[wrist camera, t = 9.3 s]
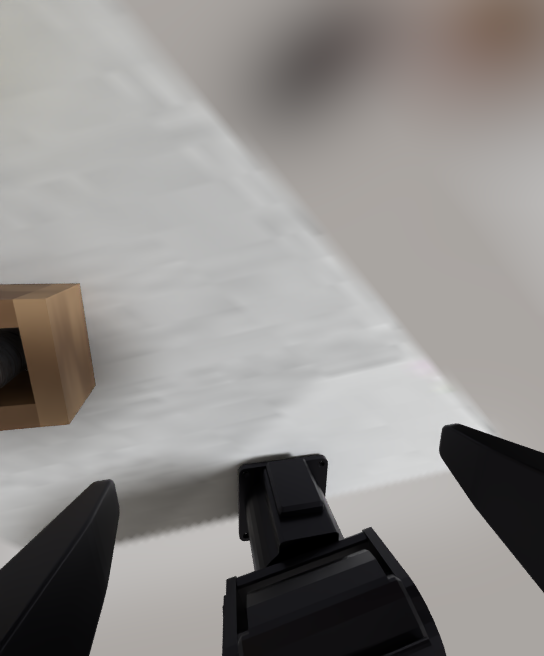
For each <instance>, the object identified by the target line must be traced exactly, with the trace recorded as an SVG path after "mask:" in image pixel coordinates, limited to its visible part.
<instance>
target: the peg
mask: <svg viewBox="0 0 544 656" xmlns="http://www.w3.org/2000/svg"><path fill="white" fill-rule="evenodd" d="M26 368H27V363H26V358H25V354H24V349H23V345H22V340H21V336H20V331H19V328H1V329H0V389H1V388H2V387H3V386H4V385H6V384H7V383H8V382H9V381H11V380H12V379H13V378H15V377H16V376H17V375H18V374H20V373H21V372H22V371H23V370H25V369H26Z"/></svg>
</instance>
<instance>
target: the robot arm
mask: <svg viewBox="0 0 544 656" xmlns="http://www.w3.org/2000/svg"><path fill="white" fill-rule="evenodd" d="M439 452H440V456H441V458H442V459H443V461H444V462H445V464H446V465H447V467H448V468H449V470H450V471H451V473H452V474H453V476H454V477H455V479H456V480H457V481H458V483H459V484H460V486H461V487H462V489H463V490H464V492H465V493H466V495H467V496H468V498H469V499H470V501H471V502H472V503H473V505H474V506H475V508H476V509H477V510H478V511H479V513H480V514H481V515H482V517H483V518H484V519H485V520H486V522H487V523H488V524H489V525H490V527H491V528H492V529H493V530H494V531H495V533H496V534H497V535H498V536H499V538H500V539H501V540H502V541H503V543H504V544H505V545H506V546H507V548H508V549H509V550H510V551H511V552H512V554H513V555H514V556H515V558H516V559H517V560H518V561H519V562H520V564H521V565H522V566H523V568H524V569H525V570H526V571H527V573H528V574H529V575H530V576H531V577H532V579H533V580H534V581H535V582H536V583H537V585H538V586H539V587H540V589H541V590H542V591H543V592H544V453H542V452H539V451H536V450H533V449H530V448H528V447H525V446H522V445H519V444H516V443H513V442H510V441H507V440H504V439H502V438H499V437H496V436H493V435H490V434H487V433H484V432H481V431H478V430H476V429H473V428H470V427H467V426H464V425H461V424H450V425H445V426H444V427H443V428H442V433H441V439H440V446H439ZM321 461H322V462H321ZM319 462H321V463H319ZM327 468H328V461H327V459H326V458H325V456H323V455H315V456H307V457H299V458H292V459H284V460H276V461H269V462H261V463H253V464H246V465H242V466H241V467H240V468H239V469H238V504H239V537H240V539H241V540H242V541H249V540H250V545H251V551H252V558H253V564H254V570H255V571H254V572H251V573H249V574H246V575H243V576H240V577H238V578H237V577H236V576H235V577H232V578H229V579H227V580H226V595H225V596H224V605H223V646H222V649H223V650H222V656H446V653H445V649H444V646H443V643H442V640H441V637H440V634H439V632H438V630H437V627H436V625H435V622H434V620H433V618H432V616H431V614H430V611H429V610H428V607H427V605H426V603H425V602H424V600H423V598H422V596H421V594H420V592H419V591H418V589H417V587H416V586H415V584H414V583H413V581H412V580H411V578H410V577H409V576H408V574H407V573H406V572H405V570H404V569H403V568H402V566H401V565H400V564H399V563H398V561H397V560H396V559H395V557H394V556H393V555H392V553H391V552H390V551H389V550H388V548H387V547H386V546H385V544H384V543H383V542H382V540H381V539H380V538H379V537H378V535H377V534H376V533H375V531H374V530H373V529H372V527H369V528H366V529H364V530H362V532H361V533H358V534H355V535H353V536H350V537H347V538H344V537H343V535H342V533H341V531H340V529H339V527H338V525H337V522H336V520H335V518H334V516H333V514H332V512H331V509H330V507H329V505H328V503H327V501H326V499H325V492H326V480H327ZM244 472H247V473H244ZM118 520H119V503H118V498H117V493H116V489H115V484H114V482H113V480H111V479H108V480H102V481H96V482H94V483H92V484H91V485H90V486H89V487H88V488H87V489H86V490H84V491H83V492H82V493H81V494H80V495H79V496H78V497H77V498H76V499H75V500H74V501H73V502H72V503H71V504H70V505H69V506H67V507H66V508H65V509H64V510H63V511H62V512H61V513H60V514H59V515H58V516H57V517H56V518H55V519H54V520H53V521H51V522H50V523H49V524H48V525H47V526H46V527H45V528H44V529H43V530H42V531H41V532H40V533H39V534H38V535H37V536H36V537H34V538H33V539H32V540H31V541H30V542H29V543H28V544H27V545H26V546H25V547H24V548H23V549H22V550H21V551H20V552H19V553H18V554H17V555H16V556H14V557H13V558H12V559H11V560H10V561H9V562H8V563H7V564H6V565H5V566H4V567H3V568H1V569H0V656H89V654H90V650H91V647H92V643H93V639H94V636H95V632H96V628H97V624H98V621H99V617H100V613H101V610H102V606H103V602H104V598H105V594H106V590H107V586H108V580H109V575H110V568H111V562H112V557H113V550H114V544H115V538H116V532H117V526H118ZM245 533H246V534H245Z"/></svg>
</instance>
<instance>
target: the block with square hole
mask: <svg viewBox="0 0 544 656" xmlns="http://www.w3.org/2000/svg"><path fill="white" fill-rule="evenodd" d="M0 328H19V331H20V336H21V340H22V345H23V349H24V354H25V358H26V363H27V367H28V371H22V372H21V373H20V374H18V375H17V376H16V377H15V378H13V379H12V380H11V381H9V382H8V383H7V384H6V385H4V386H3V387H2V388H1V389H0V431H3V430H13V429H24V428H35V427H45V426H56V425H67V424H70V422H71V421H72V420H73V418H74V417H75V415H76V414H77V412H78V411H79V409H80V408H81V406H82V405H83V403H84V402H85V400H86V399H87V397H88V396H89V394H90V393H91V391H92V390H93V389H94V387H95V386H96V385H95V379H94V372H93V366H92V360H91V353H90V347H89V340H88V334H87V328H86V321H85V315H84V308H83V302H82V295H81V289H80V284H4V285H0Z"/></svg>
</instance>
